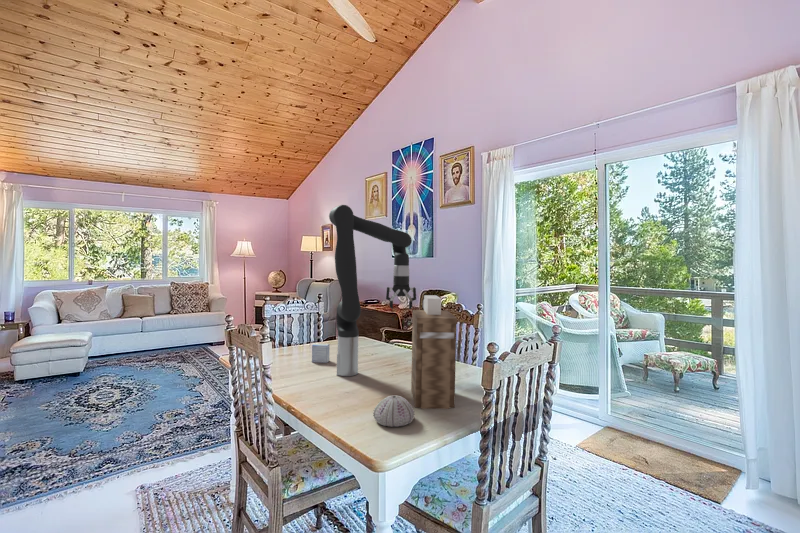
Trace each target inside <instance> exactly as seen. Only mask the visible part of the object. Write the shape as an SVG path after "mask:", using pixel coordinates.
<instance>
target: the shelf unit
mask: <svg viewBox="0 0 800 533" xmlns="http://www.w3.org/2000/svg"><path fill="white" fill-rule="evenodd" d="M457 324H458V318H457V316H455V315H453V313H451V312H450V311H449V310H446V309H445V310H442V309H441V315H427V313H426V312H425V311H424V309H412V331H411V334H412V335H411V375H410V376H411V382H410V391H411V396H412V399H413V400H412V401H413V404H414V408H417V409H419V408H420V409H421V410H424V409H425V410H436V409H437V410H439V409H440V410H441V409H442V410H446V409H447V410H449V409H451V408H452V409H454V408H455V401H456V356H457V353H456V352H457Z"/></svg>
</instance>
